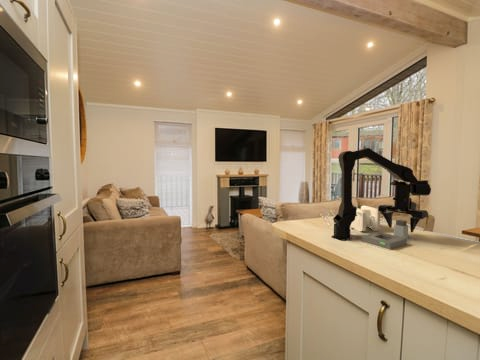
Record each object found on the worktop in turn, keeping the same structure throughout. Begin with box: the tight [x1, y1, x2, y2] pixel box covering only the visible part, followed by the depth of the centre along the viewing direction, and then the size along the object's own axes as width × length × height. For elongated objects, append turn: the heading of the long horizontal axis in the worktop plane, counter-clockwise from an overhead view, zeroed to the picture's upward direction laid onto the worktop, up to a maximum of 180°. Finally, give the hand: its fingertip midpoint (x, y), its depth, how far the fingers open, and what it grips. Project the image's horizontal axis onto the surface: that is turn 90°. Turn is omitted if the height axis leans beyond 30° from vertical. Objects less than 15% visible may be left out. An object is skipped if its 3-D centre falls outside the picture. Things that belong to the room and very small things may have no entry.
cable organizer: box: [350, 205, 381, 232], centre depth 131 cm, size 15×11×12 cm
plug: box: [393, 219, 409, 239], centre depth 114 cm, size 4×4×8 cm
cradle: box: [407, 234, 416, 242], centre depth 115 cm, size 8×8×2 cm
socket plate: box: [361, 231, 408, 251], centre depth 108 cm, size 12×12×3 cm
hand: (400, 229), depth 114 cm, fingers open, 9 cm apart
